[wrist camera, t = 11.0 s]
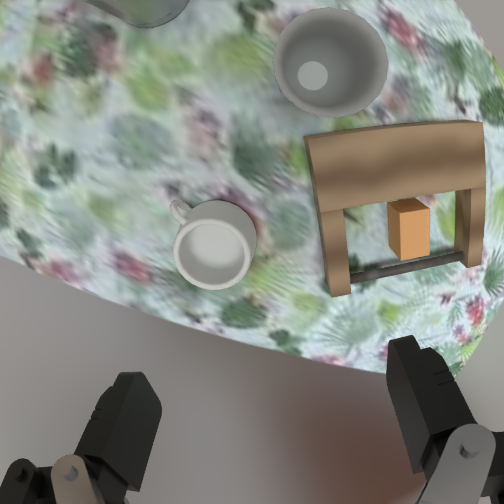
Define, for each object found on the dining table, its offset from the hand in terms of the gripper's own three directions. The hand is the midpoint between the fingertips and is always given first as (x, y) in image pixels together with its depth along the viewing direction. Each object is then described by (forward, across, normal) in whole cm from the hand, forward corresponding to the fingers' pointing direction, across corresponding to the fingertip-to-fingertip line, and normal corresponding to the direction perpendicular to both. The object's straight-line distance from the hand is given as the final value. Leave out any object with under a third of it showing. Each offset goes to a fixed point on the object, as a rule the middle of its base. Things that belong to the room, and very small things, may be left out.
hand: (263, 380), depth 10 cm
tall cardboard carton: (+30, -16, +9) cm, 35 cm away
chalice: (+30, -6, -10) cm, 32 cm away
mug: (+30, +8, +5) cm, 32 cm away
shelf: (+30, -16, +6) cm, 35 cm away
